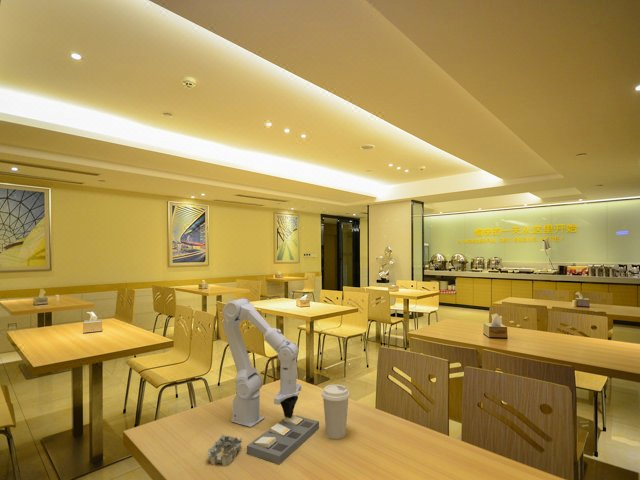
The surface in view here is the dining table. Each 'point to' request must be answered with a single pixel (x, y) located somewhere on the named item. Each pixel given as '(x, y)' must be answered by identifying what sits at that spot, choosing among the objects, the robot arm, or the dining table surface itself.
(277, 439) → the grey rocker switch panel
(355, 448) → the dining table surface
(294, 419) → the labelled cream tile
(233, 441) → the egg carton
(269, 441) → the rocker carton end
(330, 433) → the coffee cup
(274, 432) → the rocker middle
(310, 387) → the dining table surface
